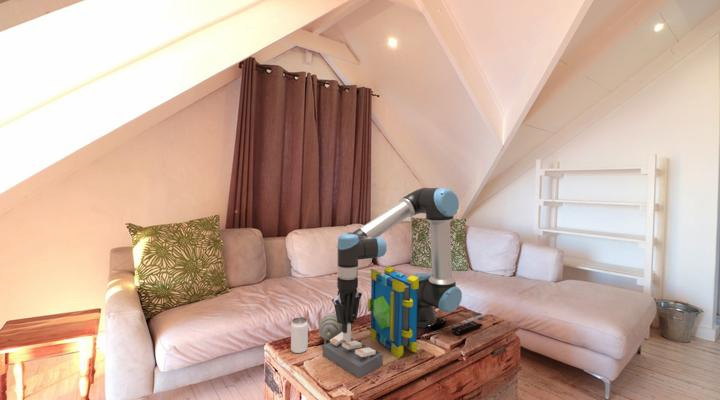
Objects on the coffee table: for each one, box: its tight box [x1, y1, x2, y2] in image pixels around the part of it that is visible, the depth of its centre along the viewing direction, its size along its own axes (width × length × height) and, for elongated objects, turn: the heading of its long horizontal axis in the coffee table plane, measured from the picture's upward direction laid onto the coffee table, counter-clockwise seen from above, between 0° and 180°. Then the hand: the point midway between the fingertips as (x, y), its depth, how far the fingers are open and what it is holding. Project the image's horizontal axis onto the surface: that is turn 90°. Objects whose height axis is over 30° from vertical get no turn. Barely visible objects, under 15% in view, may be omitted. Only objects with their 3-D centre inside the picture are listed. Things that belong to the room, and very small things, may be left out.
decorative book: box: [367, 265, 419, 360], centre depth 133 cm, size 14×23×30 cm, turn 29°
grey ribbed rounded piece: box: [318, 312, 342, 345], centre depth 136 cm, size 11×17×11 cm, turn 3°
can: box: [290, 316, 309, 354], centre depth 129 cm, size 6×6×12 cm
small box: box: [355, 346, 377, 357], centre depth 117 cm, size 7×4×2 cm, turn 135°
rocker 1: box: [329, 332, 344, 346], centre depth 127 cm, size 7×4×2 cm, turn 134°
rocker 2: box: [342, 340, 363, 350], centre depth 122 cm, size 7×4×2 cm, turn 134°
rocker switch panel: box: [322, 337, 384, 379], centre depth 122 cm, size 12×20×5 cm, turn 44°
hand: (346, 340), depth 120 cm, fingers closed
